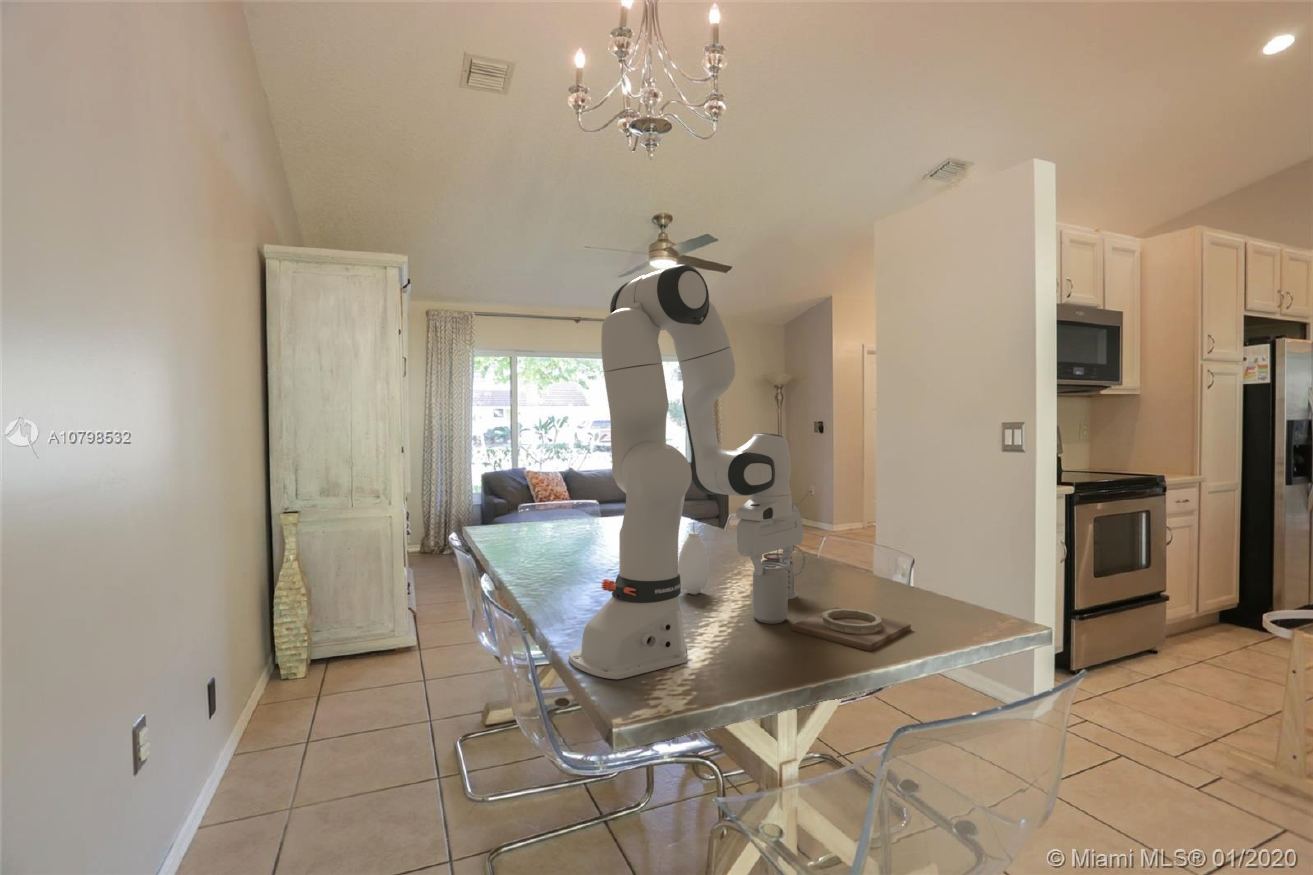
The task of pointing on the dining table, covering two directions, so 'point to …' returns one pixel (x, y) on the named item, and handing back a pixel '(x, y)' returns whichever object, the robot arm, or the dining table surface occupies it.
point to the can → (771, 594)
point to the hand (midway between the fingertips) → (772, 570)
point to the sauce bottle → (693, 564)
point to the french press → (776, 559)
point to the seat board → (852, 637)
